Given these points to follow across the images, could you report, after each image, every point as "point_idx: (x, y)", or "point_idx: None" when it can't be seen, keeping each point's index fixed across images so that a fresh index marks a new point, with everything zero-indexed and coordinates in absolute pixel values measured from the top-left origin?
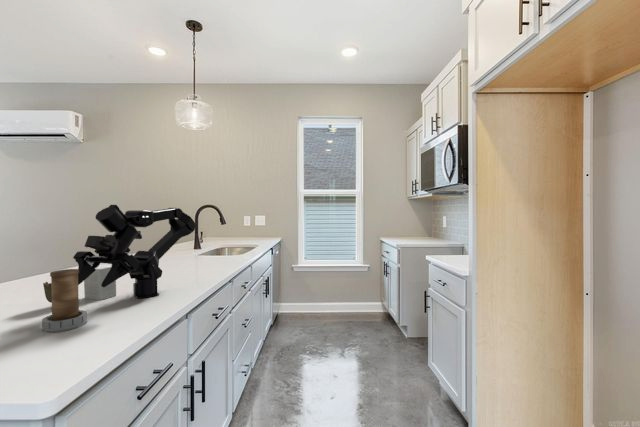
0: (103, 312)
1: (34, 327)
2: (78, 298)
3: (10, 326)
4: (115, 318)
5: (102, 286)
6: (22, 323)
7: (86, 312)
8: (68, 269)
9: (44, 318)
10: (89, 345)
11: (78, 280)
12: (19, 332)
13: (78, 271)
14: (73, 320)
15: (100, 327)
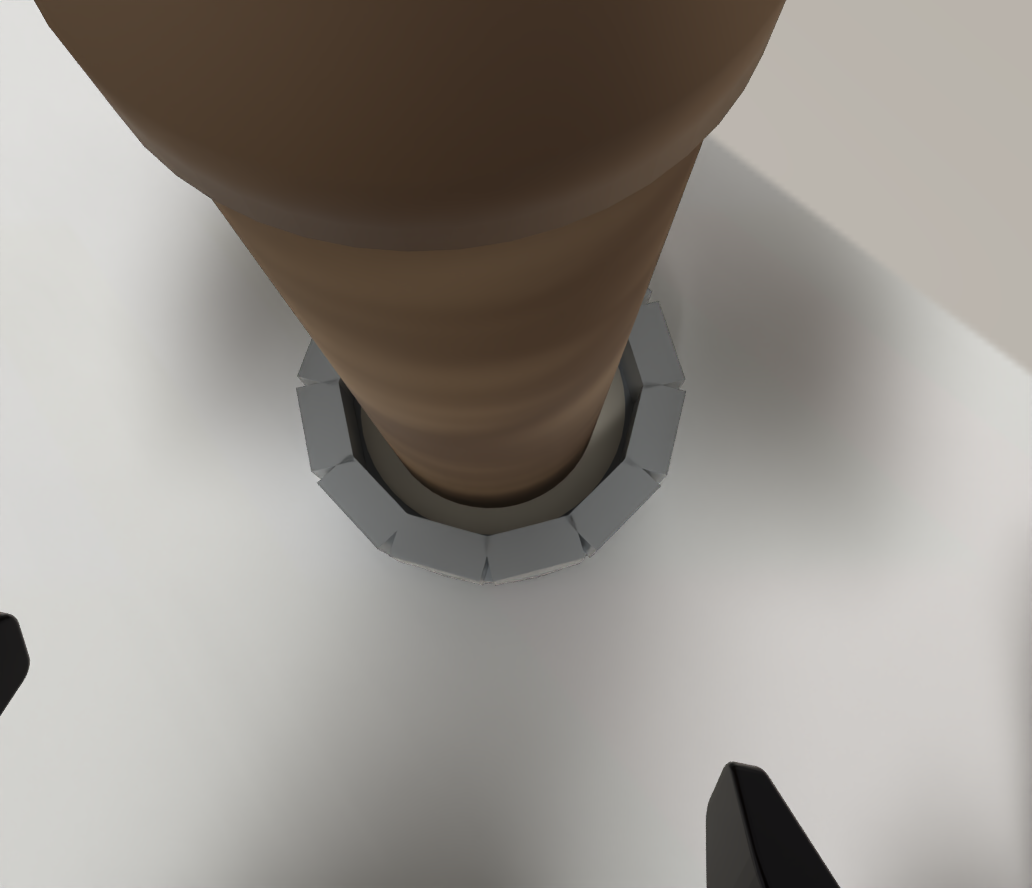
0: (379, 831)
1: (746, 368)
2: (349, 389)
3: (997, 386)
4: (118, 621)
5: (8, 632)
6: (971, 460)
7: (337, 498)
8: (565, 103)
9: (646, 309)
10: (21, 77)
11: (740, 879)
12: (761, 265)
13: (50, 3)
14: None
15: (134, 382)
